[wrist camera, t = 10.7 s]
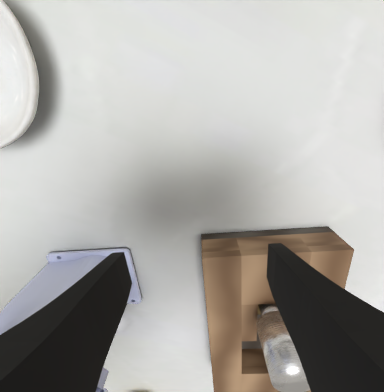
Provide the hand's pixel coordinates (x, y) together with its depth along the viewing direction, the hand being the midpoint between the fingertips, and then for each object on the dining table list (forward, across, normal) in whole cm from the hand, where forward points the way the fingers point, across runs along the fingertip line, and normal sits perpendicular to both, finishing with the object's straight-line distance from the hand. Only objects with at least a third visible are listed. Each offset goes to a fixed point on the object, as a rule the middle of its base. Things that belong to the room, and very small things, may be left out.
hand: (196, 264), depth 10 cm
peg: (+9, -6, +12) cm, 17 cm away
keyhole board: (+10, -6, +16) cm, 20 cm away
